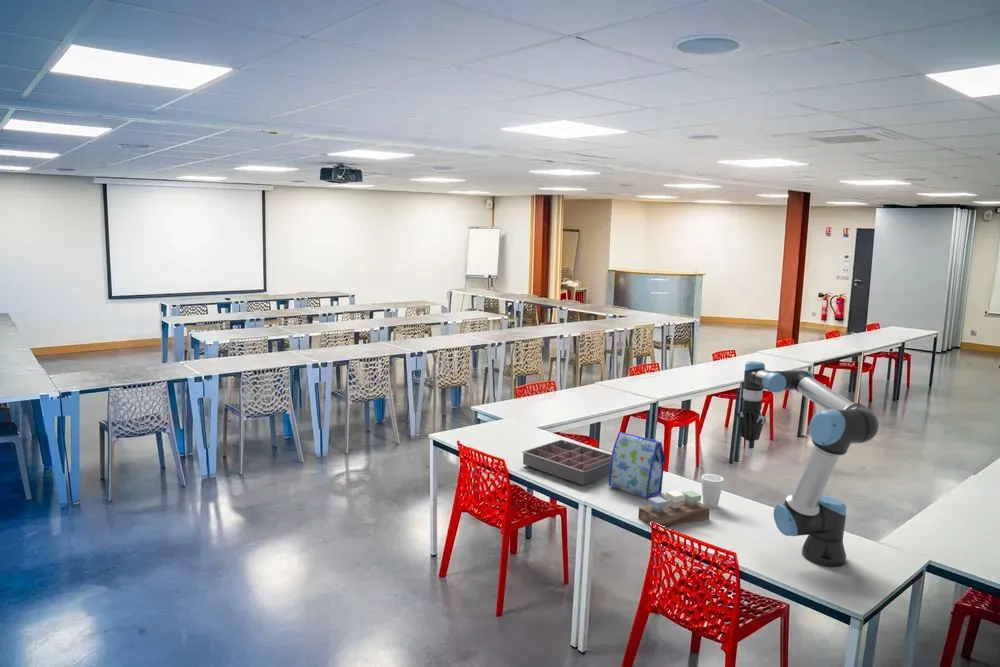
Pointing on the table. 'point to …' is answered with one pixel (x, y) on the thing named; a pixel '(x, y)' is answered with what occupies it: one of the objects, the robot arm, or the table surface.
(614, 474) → the lunch bag
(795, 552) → the table surface
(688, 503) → the sage key
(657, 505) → the slate key
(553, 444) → the organizer tray
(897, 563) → the table surface
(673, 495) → the cream key
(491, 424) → the table surface
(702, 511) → the wooden socket block
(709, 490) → the foam cup
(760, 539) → the table surface
